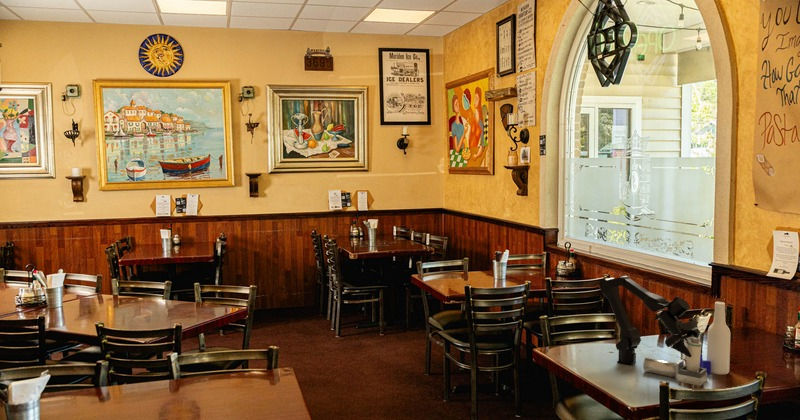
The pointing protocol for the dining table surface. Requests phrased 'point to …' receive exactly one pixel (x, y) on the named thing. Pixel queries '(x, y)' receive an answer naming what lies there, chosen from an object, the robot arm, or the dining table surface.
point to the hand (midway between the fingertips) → (696, 355)
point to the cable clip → (705, 365)
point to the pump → (694, 355)
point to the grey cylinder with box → (675, 371)
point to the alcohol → (719, 342)
